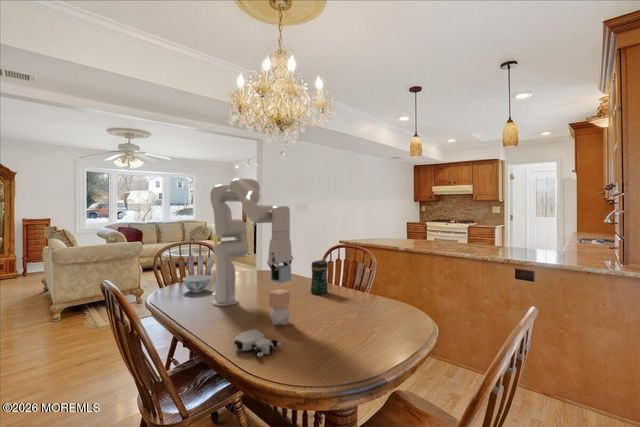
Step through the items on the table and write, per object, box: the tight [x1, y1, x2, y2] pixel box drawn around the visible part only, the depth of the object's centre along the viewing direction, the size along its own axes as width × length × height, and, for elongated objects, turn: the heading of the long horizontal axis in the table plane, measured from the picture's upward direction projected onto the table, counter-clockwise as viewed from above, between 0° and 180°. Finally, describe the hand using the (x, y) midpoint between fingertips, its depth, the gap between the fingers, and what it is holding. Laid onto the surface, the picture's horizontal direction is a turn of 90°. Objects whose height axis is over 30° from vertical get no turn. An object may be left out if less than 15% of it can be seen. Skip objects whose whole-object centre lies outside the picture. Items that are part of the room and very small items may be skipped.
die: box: [269, 306, 291, 326], centre depth 134 cm, size 8×9×10 cm
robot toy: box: [228, 328, 283, 357], centre depth 110 cm, size 12×4×15 cm
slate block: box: [270, 264, 292, 284], centre depth 133 cm, size 6×6×6 cm
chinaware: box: [182, 274, 211, 294], centre depth 183 cm, size 15×15×8 cm
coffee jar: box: [310, 259, 329, 295], centre depth 182 cm, size 10×8×19 cm
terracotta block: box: [268, 288, 290, 309], centre depth 133 cm, size 6×6×6 cm
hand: (280, 277), depth 133 cm, fingers closed on slate block, 6 cm apart
